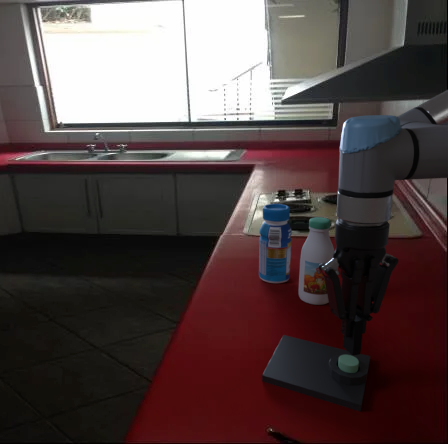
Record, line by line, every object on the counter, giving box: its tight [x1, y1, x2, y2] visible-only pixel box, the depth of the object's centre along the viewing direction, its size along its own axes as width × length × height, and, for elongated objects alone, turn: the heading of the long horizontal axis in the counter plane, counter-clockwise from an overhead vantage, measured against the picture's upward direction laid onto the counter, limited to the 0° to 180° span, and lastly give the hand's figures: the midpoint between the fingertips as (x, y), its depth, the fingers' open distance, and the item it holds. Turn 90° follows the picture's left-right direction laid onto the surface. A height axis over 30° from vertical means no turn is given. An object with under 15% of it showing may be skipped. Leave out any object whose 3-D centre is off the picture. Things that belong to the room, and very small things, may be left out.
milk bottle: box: [297, 216, 335, 306], centre depth 98 cm, size 8×8×20 cm
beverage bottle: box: [258, 203, 293, 284], centre depth 110 cm, size 8×8×20 cm
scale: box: [261, 334, 372, 412], centre depth 75 cm, size 16×14×3 cm
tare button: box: [338, 355, 359, 373], centre depth 72 cm, size 3×3×2 cm
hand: (351, 350), depth 71 cm, fingers closed
